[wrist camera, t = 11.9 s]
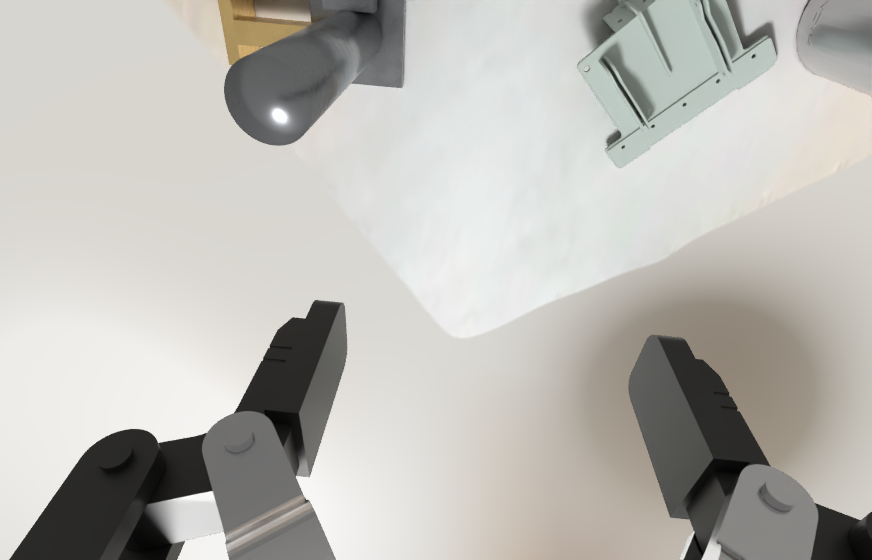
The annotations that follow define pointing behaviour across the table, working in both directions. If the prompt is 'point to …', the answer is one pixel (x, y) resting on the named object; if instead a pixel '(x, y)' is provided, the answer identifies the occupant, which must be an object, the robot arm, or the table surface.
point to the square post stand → (306, 61)
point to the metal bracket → (668, 67)
